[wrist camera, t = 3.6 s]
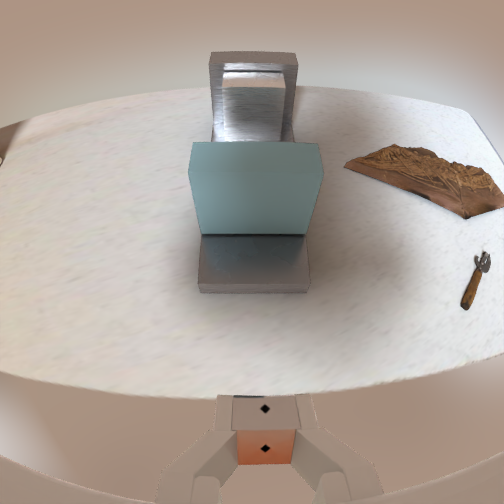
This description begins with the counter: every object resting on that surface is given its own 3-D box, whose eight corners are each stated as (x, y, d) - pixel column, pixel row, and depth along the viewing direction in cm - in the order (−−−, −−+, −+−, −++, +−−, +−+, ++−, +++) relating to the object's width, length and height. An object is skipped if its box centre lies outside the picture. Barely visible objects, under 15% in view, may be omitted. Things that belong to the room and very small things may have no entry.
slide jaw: (306, 233, 27) (323, 173, 21) (201, 233, 27) (187, 172, 20) (303, 205, 29) (317, 143, 22) (203, 205, 29) (193, 142, 22)
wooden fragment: (497, 176, 36) (500, 172, 35) (516, 237, 31) (521, 233, 30) (343, 132, 38) (344, 126, 37) (344, 195, 33) (346, 189, 32)
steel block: (280, 140, 33) (285, 87, 27) (225, 139, 33) (221, 87, 27) (278, 123, 35) (283, 73, 29) (226, 123, 35) (223, 72, 28)
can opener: (464, 313, 26) (470, 309, 25) (450, 298, 27) (456, 293, 26) (492, 260, 29) (497, 256, 28) (479, 247, 30) (485, 242, 29)
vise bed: (306, 292, 27) (334, 230, 18) (201, 292, 27) (179, 230, 18) (286, 115, 39) (294, 49, 30) (216, 115, 38) (212, 48, 30)
